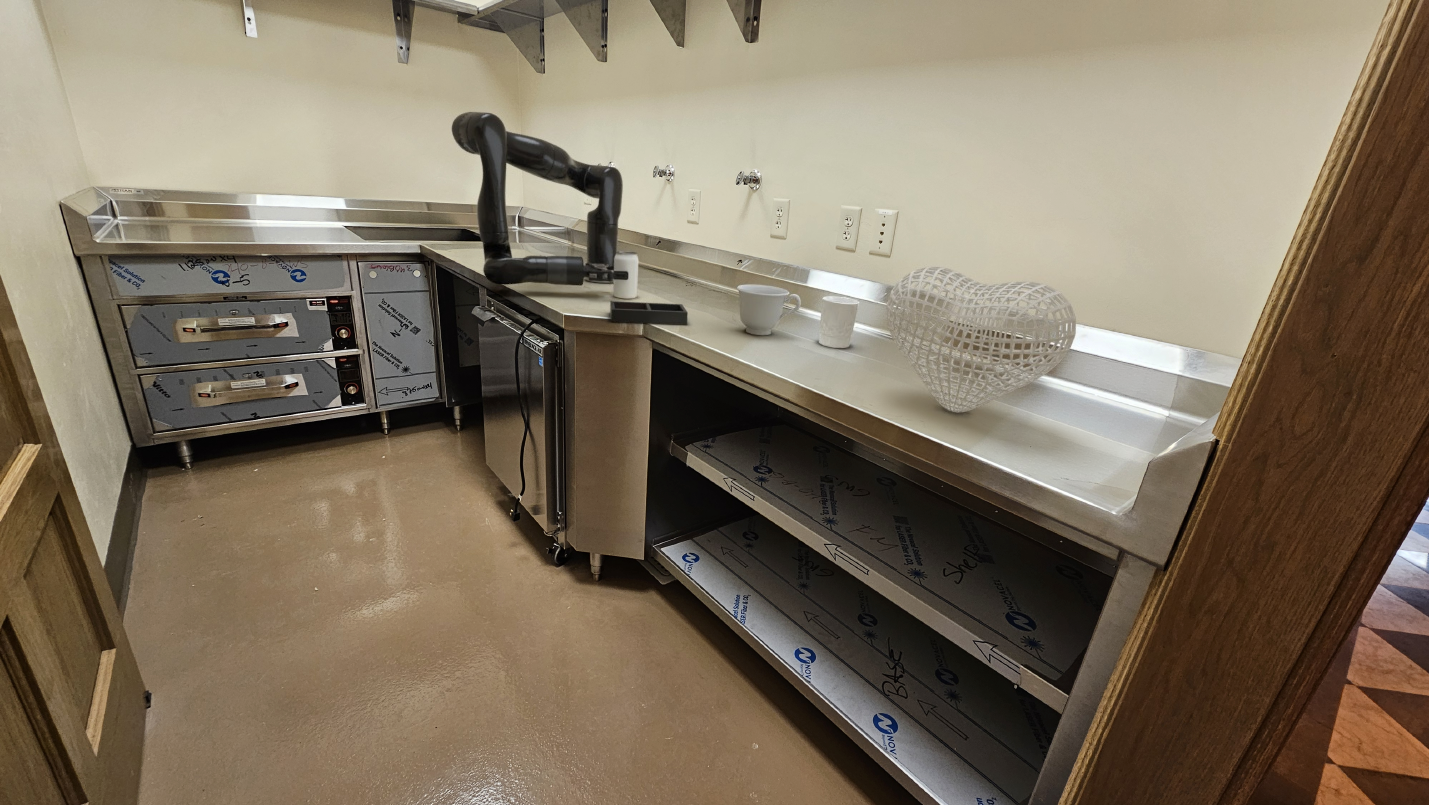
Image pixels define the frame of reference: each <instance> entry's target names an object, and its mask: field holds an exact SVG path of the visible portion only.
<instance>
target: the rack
mask: <svg viewBox="0 0 1429 805" xmlns="http://www.w3.org/2000/svg"><path fill="white" fill-rule="evenodd" d="M609 304H610V305H609V315H610V322H611V323H623V324H624V323H625V324H650V325H651V324H652V325H677V326H678V325H679V326H680V325H681V326H688V314H689V313H688V311H687V309H686V307H685V306H684V305H683V303H665V302H664V303H663V302H639V301H620V300H619V301H617V300H610V302H609Z"/></svg>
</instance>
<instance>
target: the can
mask: <svg viewBox="0 0 1429 805" xmlns="http://www.w3.org/2000/svg"><path fill="white" fill-rule="evenodd" d="M614 271H627V272H628V280H615V279H614V283H613V293H612V294H613V296H614V298H617V299H623V300H634V299H636V298H637V297H638V283H639V282H638V281H639V256H638V252H636V251H629V250H618V251H616V255H615V258H614Z"/></svg>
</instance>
